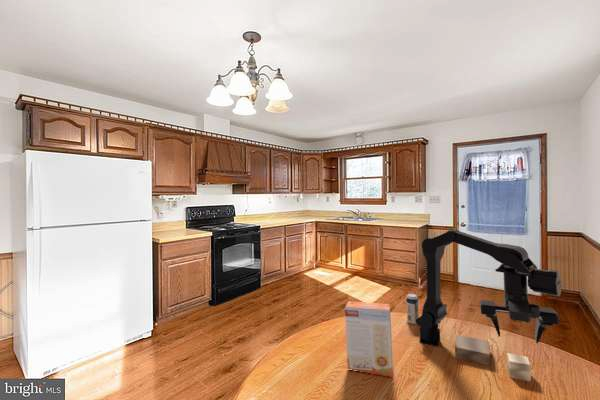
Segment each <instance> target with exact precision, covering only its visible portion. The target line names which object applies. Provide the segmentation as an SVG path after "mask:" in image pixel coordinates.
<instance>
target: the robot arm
mask: <svg viewBox="0 0 600 400" xmlns="http://www.w3.org/2000/svg"><path fill="white" fill-rule="evenodd" d="M453 243H456V244H458V245H461V246H463V247H466V248H469V249H472V250H475V251H477V252H480V253H482V254H485V255H487V256H490V257H491V258H493V259H494V260H495V261H496V262H498V263H500V266H498V267H497V268H495V272H497V273H503V290H504V291H503V292H504V294H503V295H504V297H503V298H504V305H497V304H496V303H495V301H494V300H486V299H485V300H484V299H481V300H480V301H479V308H480V310H479V311H480V314H481V315H485V317H486V318H490V320H491V322H492V324H493V326H494V328H495V331H496V333H497V336H498V337H501V330H500V325H499V320H498V315H497V312H498V313H505V314H508V315H509V319H510V320H511V321H515V322H517V321H519V322H524V323H531V321H532V319H535V329H534V330H535V331H534V332H535V333H534V339H535V343H536V344H538V343H539V342H540V339H541V337H542V335H543V333H544V331H545V329H546V328H548V327H553V326H554V325H559V324H560V317H559V314H558V313H557V311H555V310H554V309H553V308H552V307H544V306H539V304H533V303H529V299H528V297H529V296H528V294H529V293H528V288H529V290H531V291H532V292H534V293H540V294H545V295H549V296H556V297H560V296H561V293H562V286H563V285H562V284H563V282H562V281H561V276H560V275H559V270H553V269H550V270H548V269H539V268H538V266H537V265H536V264H535V263H534V262H533V261H532V260H531V258H530V257H529V254H528V251H527V250H526V249H525V248H524V247H521V246H518V245H515V244H509V243H498V242H493V241H491V240H487V239H484V238H482V237H478V236H475V235H472V234H470V233H466V232H462V231H460V230H458V229H451V230H450V229H449V230H447V231H446V232H444V233H442V234H439V235H438V236H437V235H436V236H431V237H427V238H424V240H422V242H421V249H422V250H421V251H422V255H423V257H424V259H425V260H426V299H425V301H424V304H423V305H422V312H421V316H420V315H419V318H418V319H416V322H417V324H416V325H417V326H418V327H419V341H418V342H419V343H422V344H426V345H432V346H439V343H441V329H440V328H439V324H441V323H442V320H444V319H445V318H446V316H447V315H448V313H447V308H448V307H447V306H448V305H447V303H443V301H442V299H441V298H442V297H441V261H442V258H443V257H444V254H445V249H446V246H449V245H451V244H453Z"/></svg>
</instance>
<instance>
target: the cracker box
mask: <svg viewBox="0 0 600 400" xmlns="http://www.w3.org/2000/svg"><path fill="white" fill-rule="evenodd" d="M344 313H345V337H346V338H345V339H346V342H345V343H346V363H347V364H346V365H347V370H348V369H352V370H357V371H362V372H367V373H366V374H368V373H371V374H370V375H375V374H377V376H383V377H388V376H389V377H390V378H392V377H393V372H394V371H393V366H394V365H393V363H394V361H393V340H392V322H391V321H392V319H391V303H381V302H380V303H377V302H367V301H366V302H362V301H352V300H350V301H349V300H348V301H347V303H346V305H345V308H344ZM362 372H361V373H362Z"/></svg>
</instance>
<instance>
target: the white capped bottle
mask: <svg viewBox="0 0 600 400" xmlns="http://www.w3.org/2000/svg"><path fill="white" fill-rule="evenodd" d="M405 299H406V301H405V303H406V322H407V323H409V324H410V323H411V325H417V322H416V319H418V318H419V317H420V315H419V297H418V296H417V294H415V293H408V294H406V297H405Z"/></svg>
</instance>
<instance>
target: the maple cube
mask: <svg viewBox="0 0 600 400" xmlns="http://www.w3.org/2000/svg"><path fill="white" fill-rule="evenodd" d="M506 357H507V370H508V374H509V378H511V379H512V378H513V379H516V380H522V381H525V382H530V383H531V382H532V377H531V376H532V375H531V363H530V361H529V358H528V356H525V355H520V354H514V353H509V352H507V353H506Z"/></svg>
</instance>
